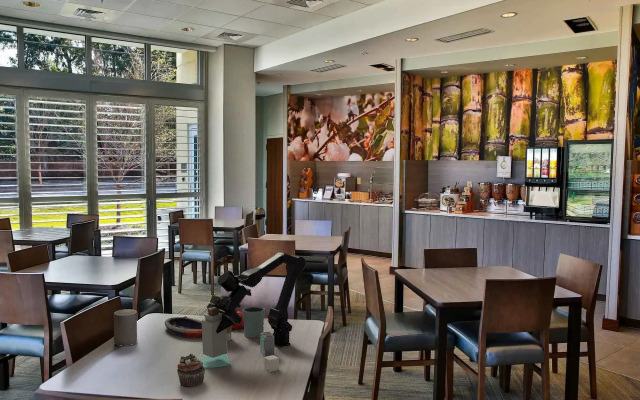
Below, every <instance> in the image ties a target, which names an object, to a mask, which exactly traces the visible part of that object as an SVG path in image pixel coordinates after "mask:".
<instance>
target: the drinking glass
mask: <svg viewBox="0 0 640 400" xmlns="http://www.w3.org/2000/svg"><path fill="white" fill-rule="evenodd" d="M265 309H266V308H264V307H262V306H246V307H244V308H243V309H242V312H243V320H244V327H243V328H244V331H243V332H244V337H246V338H248V339H254V338H255V339H256V338H260V333H262V332H265V331H264V330H265V329H264V324H265V322H264V321H265V312H266V311H265Z"/></svg>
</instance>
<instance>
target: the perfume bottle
mask: <svg viewBox="0 0 640 400" xmlns="http://www.w3.org/2000/svg"><path fill="white" fill-rule="evenodd" d="M222 315H223V314H222V313H219V308H216V307H212V308H207V313H204V314H203V316H204V319H201V321H202V337H201V338H202V355H205V356H206V357H212V358H214V357H217V356H220V355H225V354H226V355H227V354H228V341H227V333H226V329H224V330H223V331H221V332H219V333H218V334H217V333H216V330H217V328H218V326H219V324H220V322H221V320H222Z"/></svg>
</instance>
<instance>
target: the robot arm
mask: <svg viewBox="0 0 640 400" xmlns="http://www.w3.org/2000/svg"><path fill="white" fill-rule="evenodd" d="M283 264H285V271H286V276H285V278H284V282H283V284H282V288H281V291H280V294H279V297H278V300H277V303H276V306H275V307H273V308H272V307H270V309H269V313H268V315H267V316H266V317H267V322H268V324H269V326H270V328H271V330H273V333H271V334H272V335H273V336H274V347H276V348H277V347H284V346H285V347H286V346H291V343H290V332H292V331H293V325H292V324H291V323H290V322H289V312H288V311H289V310H288V307H289V305H290V302H291V299H292V295H293V293H294V289H295V286H296V283H297V281H298V277H299V276H300V275H301V274H302V273H303V271H304V270H305V267H306V265H307V260H306V259H305V258H304V257H303V256H298V255H294V254H292V255H290V254H287V253H286V252H285V253H284V252H282V251H281V252H277V253H276V254H275V255H273V256H272V257H270V258H269V259H267V260H265V262H264V261H263V263H261V264H260V265H258V266H256V267H254V268H250V269H247V270H245V271H243V272H241V273H240V274H239V275H235V274H234V272H232V270H228V269H227V271H226V272H224V273H223V274H221V275H219V277H218V278H217V284H218V285H219V286H220V287H221V288H222V289H224V290H225V291H226V292H227V293H229V294H228V295H221V296H218V295H215V294H211V298H210V301H209V303H208V304H207V305H206V308H207V309H208V308H212V307H216V308H219V313H222V314H223V315H222V320H221V322H220V324H219V326H218V328H217V330H216V333H217V334H218V333H219V332H221V331H223V330H224V329H226V328H228V327H230V326H232V325H235V323H236V324H238V325H240V323H241V322H242V317H241V316H240V315H239V314H237V313H236V312H235V310H236V309H239V308H241V307H242V305H241V303H242V302H243V300H244V299H245V297H246V296H248V297H252V290H251V289H250V288H255V287H256V286H257V285H258V284H259V283H261V282H262V280H263V278H264V277H265V276H266V275H268V274H269V273H270V272H272V271H273V270H275V269H276V268H278V267H280V266H281V265H283ZM245 286H246V287H245ZM247 287H248V288H247ZM236 311H237V310H236ZM234 322H235V323H234Z"/></svg>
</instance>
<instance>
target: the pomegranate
mask: <svg viewBox="0 0 640 400" xmlns="http://www.w3.org/2000/svg"><path fill="white" fill-rule="evenodd" d="M237 309H238V308H237ZM237 309H236V310H235V312H236V313H237V314H239V315H240V316H241V317H242V322H241V323H240V325H238V324H236V323H235V322H234V323H235V325H232V330H240V329H241V330H242V329H243V328H244V320H243V311H240V310H238V311H237Z"/></svg>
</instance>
